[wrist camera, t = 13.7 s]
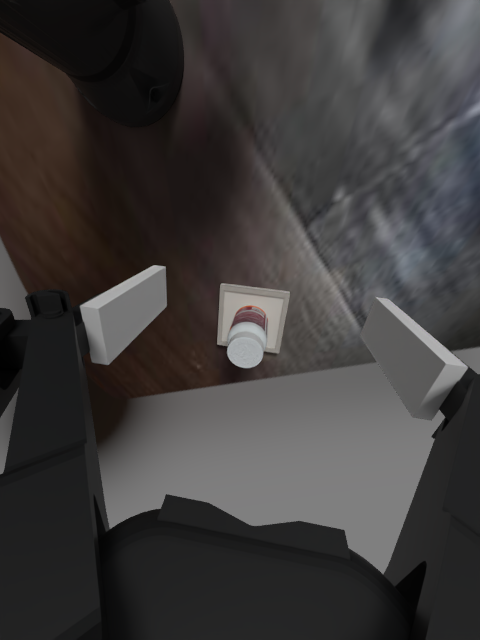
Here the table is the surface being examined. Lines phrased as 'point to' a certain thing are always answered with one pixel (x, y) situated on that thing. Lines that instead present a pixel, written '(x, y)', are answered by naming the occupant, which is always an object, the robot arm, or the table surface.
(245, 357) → the pill bottle
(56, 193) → the table surface
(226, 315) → the coaster
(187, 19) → the table surface
